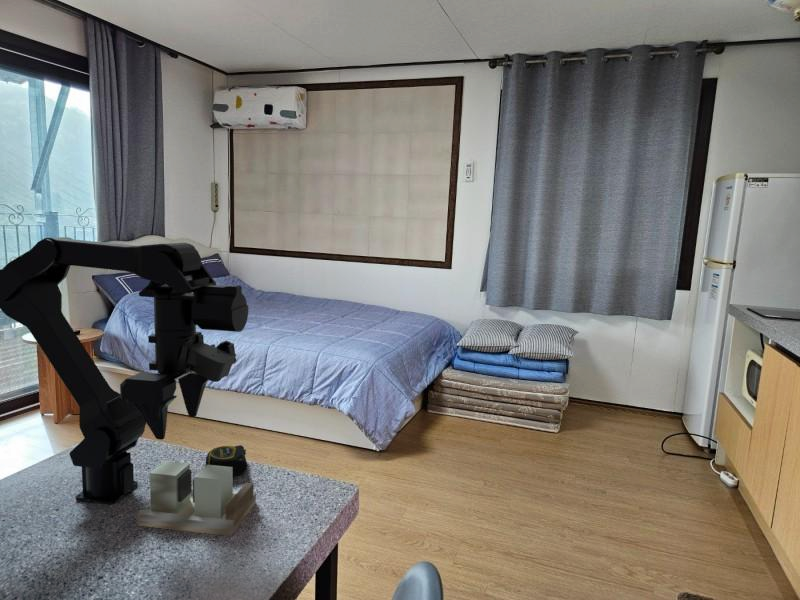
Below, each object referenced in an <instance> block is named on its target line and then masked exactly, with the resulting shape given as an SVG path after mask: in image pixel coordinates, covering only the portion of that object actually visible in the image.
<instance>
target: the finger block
mask: <svg viewBox="0 0 800 600" xmlns="http://www.w3.org/2000/svg"><path fill="white" fill-rule="evenodd" d="M233 476H234V475H233V467H226V466H216V465H207V466H206V465H205V466H204V467H203V468H202V469H201V470H200V471H199V472H198V473H197V474H196V475H195V476H193V479H192V486H193V503H194V505H195V516H203V517H212V518H222V516H223V515H224V514H225V513H226V505H227V504H228V503H229V502H230V501H231V500H232V498H233V490H234V489H233V488H234V487H233V485H234V484H233V483H234V482H233V480H234V479H233Z"/></svg>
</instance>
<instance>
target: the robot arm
mask: <svg viewBox="0 0 800 600" xmlns="http://www.w3.org/2000/svg"><path fill="white" fill-rule="evenodd" d="M71 266H73V267H83V268H91V269H102V270H111V271H121V272H127V273H130V274H133V275H135V276H137V277H138V278H140V279H144V280H147V281H149V283H148V284H147V285H146V286H145V287H144V288H143V289H142V290H140V291H139V292H138V296H140V297H141V298H153V321H154V323H153V325H154V327H153V328H154V333H153V334H150V335H148V336H147V337H148V339H147V340H148V341H147V342H148V344H149V343H150V344H154V361H151V362H149V363H148V370H149V371H156V372H145V371H143V372H142V371H141V372H138V373H135V374H134V375H130V376H129V377H127V378H125V379H123V381H122V382H121V383H120V384H119V391H120V392H118V391H116V390H115V389H113V388H112V387H111V386H110V385H109V382H107V379H105V377H104V375H103V374H102V372H101V371H100V369H99V368H98V366H97V364H96V363H95V361H94V360H93V358H92V356H90V353H89V352H88V350H87V349H86V348H85V346H84V344H83V343H82V342H81V340H80V339H79V337H78V335H77V334H76V332H75V331H74V329H73V328H72V326H71V325H70V322H69V321H68V320H67V318H66V317H65V315H64V314H63V311H62V307H63V306H62V305H63V303H62V302H63V301H62V299H63V298H62V297H63V295H62V292H61V290H60V287H59V285H60V284H61V283H62V282H63V281H64V279H66V277H68V276H67V275H68V274H69V271H70V269H71ZM242 288H243V287H242V285H241V284H231V285H222V284H221V285H218V284H217V283H216V281H215V279H214V278H213V277H212V275H211V274H210V273H209V271H208V269H207V268H206V266H205V265H204V264H203V262H202V259H201V256H200V253H199V251H198V250H197V249H196V248H195V246H194V245H193V244H191V243H187V242H174V243H172V242H170V243H157V244H145V245H144V244H143V245H131V244H121V243H111V242H101V241H92V240H82V239H81V240H80V239H74V238H71V237H69V236H68V237H67V236H65V237H64V236H63V237H61V236H60V237H58V236H57V237H56V236H55V237H44V238H43V239H40V240H39V241H38V242H37V243H36V244H35V245H33V246H32V247H31V248H30V249H29V250H27V251H26V252H24V253H22V254H20V255H19V256H18V257H16V258H14V259H13V260H11V261H9V262H7V264H6V265H5V266H3V268H1V269H0V310H1V311H2V313H3V314H4V315H5V316H7V317H8V318H10V319H11V320H14V321H15V322H17V323H19V324H20V325H23V326H24V327H26V328H27V329H28V330H29V332H30V334H31V335H32V337H33V339H34V340H35V341H36V343H37V344H38V346H39V348H40V349H41V350H42V352H43V354H44V355H45V357H46V358H47V359H48V361H49V363H50V365H51V366H52V367H53V369H54V371H56V373H57V375H58V376H59V378H60V379H61V381H62V382H63V385H65V387H66V388H67V390H68V392H69V394H70V395H71V397H72V398H73V399H74V400H75V403H76V404H77V405H78V408H79V409H78V411H79V414H78V415H79V420H78V422H79V423H78V424H79V429H80V432H81V433H82V436H83V439H82V440H81V441H80V442H79V443H78V444H77V445H76V446H75V447H74V448H72V449H71V450H70V452H69V458H70V459H71V462H72V465H73V466H74V467H80V468H81V480H82V481H81V483H82V491H81V492H79V493H78V494H77V495H75V500H76V501H84V502H91V503H101V504H109V505H110V504H112V505H113V504H115V503H116V502H118V501H119V500H120V499H122V498H123V497H124V496H125V495H126V494H128V493H129V492H130V491H132V490H133V489H134V488H135V487H136V486H137V487H138V483H139V482H138V480H135V479H134V478H135V477H134V463H133V462H132V461H131V460H132V459H131V452H127V451H129V450H131V449H132V448H135V447H136V446H137V444H138V440H139V439H140V438H141V437H142V436H143V435H144V432H145V428H146V425H147V426H148V428H149V429H150V431H151V433H152V434H153V436H154V438H155V439H156V440H164V439H165V438H166V431H167V422H168V421H167V420H168V412H169V411H168V409H169V405H170V404H171V403H172V402H173V401H174V400H175V399H176V398H177V397H178V396H177V395H175V393H176V391H177V382H178V384H179V389H180V391H181V395H182V399H183V403H184V406H185V409H186V413H187V415H188V417H190V418H196V416H197V415H198V411H199V408H200V404H201V401H202V398H203V394H204V392H205V389H206V386H207V383H208V382H209V381H210V382H215V383H218V382H221V381H222V379H224V378H225V377H228V376H229V374H230V371H231V368H232V367H233V365H234V364H236V363H237V358H236V357H237V354H236V350H235V343H233V342H231V341H229V340H224V341H222V342H220V343H219V344H218V345H217V346H216V344H215V343H214V344H211V345H210V344H207V343H206V342H205V343H204V334H202V331H197V326H198V328H199V329H200V330H204V331H205V330H207V331H209V330H210V331H222V332H224V331H225V332H234V333H235V332H237V333H238V332H239V333H240V332H242V331H243V330H244V329H245V327H246V324H247V322H248V318H249V305H248V303H247V299H246V297H245V295H244V294H243V289H242Z"/></svg>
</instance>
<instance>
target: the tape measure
mask: <svg viewBox="0 0 800 600" xmlns="http://www.w3.org/2000/svg"><path fill="white" fill-rule="evenodd" d="M246 452H247V449H245V447H244V446H243V445H240V444H239V445H235V446H233V445H232V446H231V445H222V446H217V447H215V448H213V449H211V450H209V451H208V453H207V455H206V457H205V466H207V465H216V466H226V467H233V476H235V475H241V474H245V472H246V471H247V469H248V461H247V458H246V454H247V453H246Z"/></svg>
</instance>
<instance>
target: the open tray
mask: <svg viewBox="0 0 800 600" xmlns="http://www.w3.org/2000/svg"><path fill="white" fill-rule="evenodd" d="M149 487H150V488H149V490H150V494H149V496H150V508H149V509H148V510H143V509H141V510H139V511H138V512H137V513H136V516H137V521H136V522H137V526H139V527H149V528H157V529H164V530H165V529H166V530H174V531H182V532H189V533H190V532H192V533H198V534H199V533H200V534H209V535H217V536H218V535H219V536H225V537H231V536H232V535H234V532H235V531H236V530H237V529H238V528H239V526H240V525H241V523H242V522H243V521H244V519H245V518H246V517H247V515H248V514H249V513H250V512H251V510H252V509H253V508H254V506H255V505H256V504H257V493H256V492H254V482H253V483H252V482H245V483H244V484H243V486H242V487H241V488H240V489H239V490H236V489H233V498H232V500H231V501H230V502H229V503H228V504H227V505H226V513H225V514H224V515H223V516H222V518H212V517H203V516H195V505H194V503H193V479H192V469H191V464H190V463H188V462H179V461H178V462H177V461H168V460H165V461H163V462H162V463H161V464H160V465H158V466H157V467H156V468H155V469H153V470H152V471H150V472H149Z"/></svg>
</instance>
